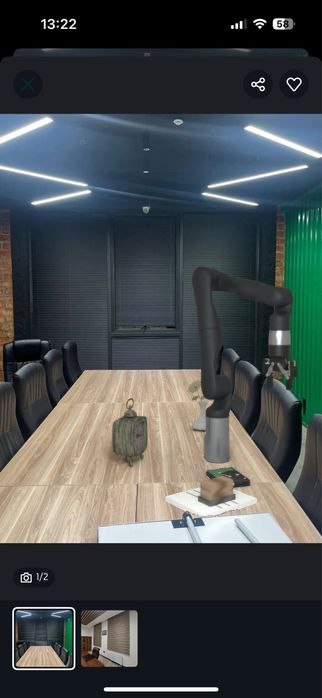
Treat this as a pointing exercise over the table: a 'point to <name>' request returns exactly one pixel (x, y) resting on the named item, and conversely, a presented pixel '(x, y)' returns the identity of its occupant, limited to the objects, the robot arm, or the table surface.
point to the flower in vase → (201, 421)
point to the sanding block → (216, 491)
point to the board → (190, 503)
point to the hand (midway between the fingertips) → (279, 388)
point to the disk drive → (229, 476)
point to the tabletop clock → (130, 434)
